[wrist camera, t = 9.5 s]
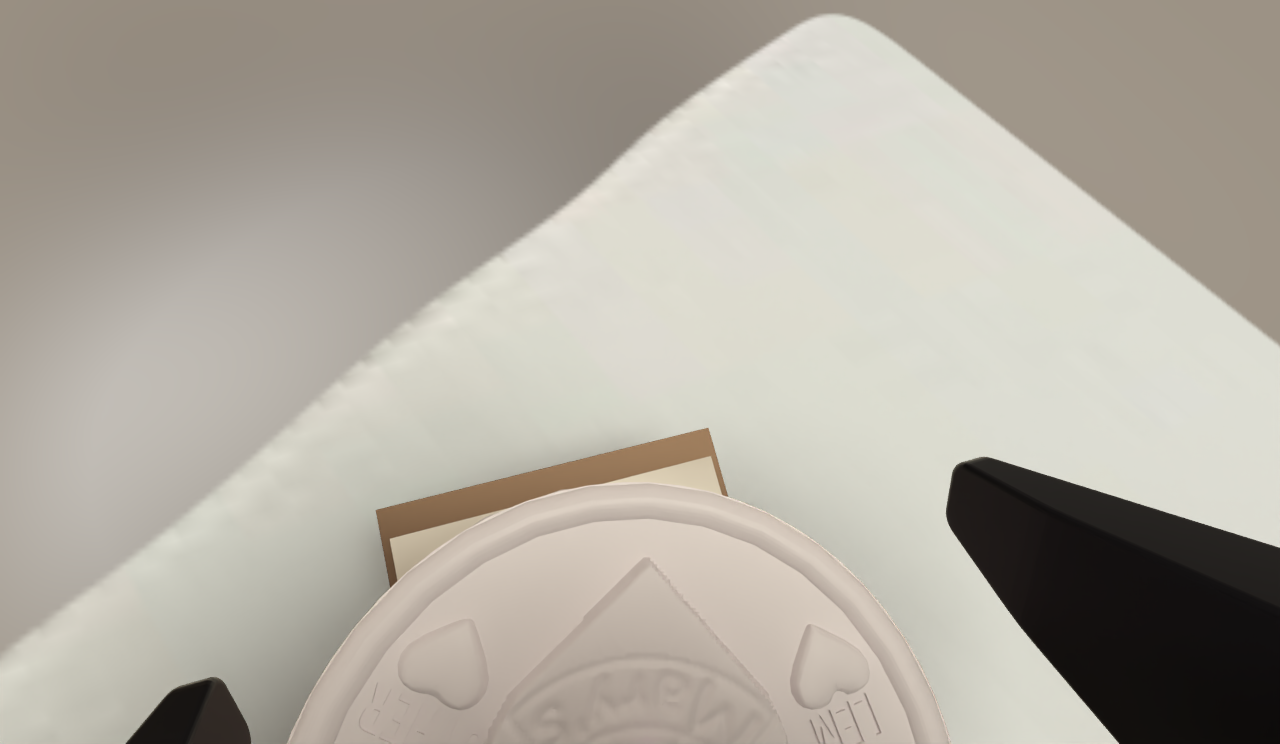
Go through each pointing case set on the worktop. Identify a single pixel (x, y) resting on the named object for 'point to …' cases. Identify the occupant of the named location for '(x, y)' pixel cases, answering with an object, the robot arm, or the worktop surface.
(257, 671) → the worktop surface
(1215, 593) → the robot arm
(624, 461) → the seesaw board
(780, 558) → the smoothie
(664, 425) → the worktop surface
